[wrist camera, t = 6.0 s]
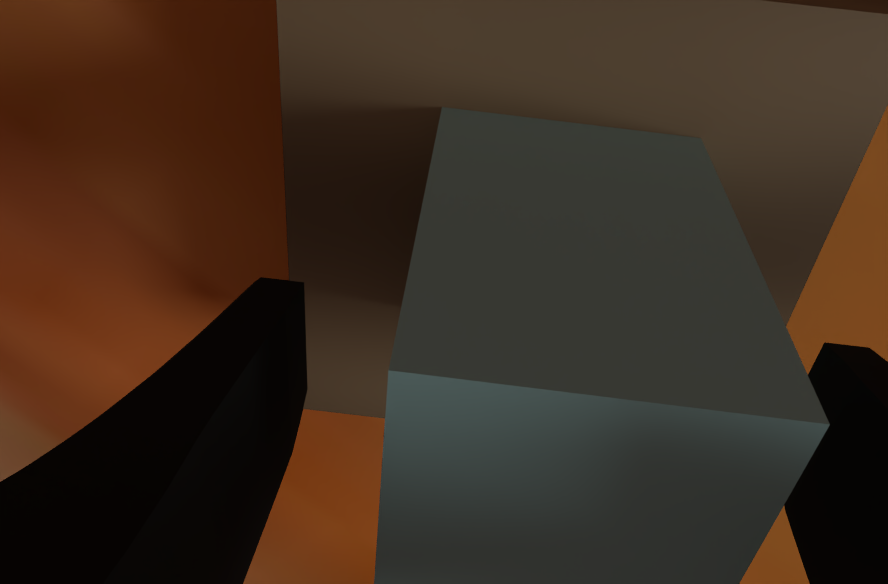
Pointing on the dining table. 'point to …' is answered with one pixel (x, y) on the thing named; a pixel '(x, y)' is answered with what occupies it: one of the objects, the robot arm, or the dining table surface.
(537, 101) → the base
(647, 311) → the block
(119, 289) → the dining table surface
